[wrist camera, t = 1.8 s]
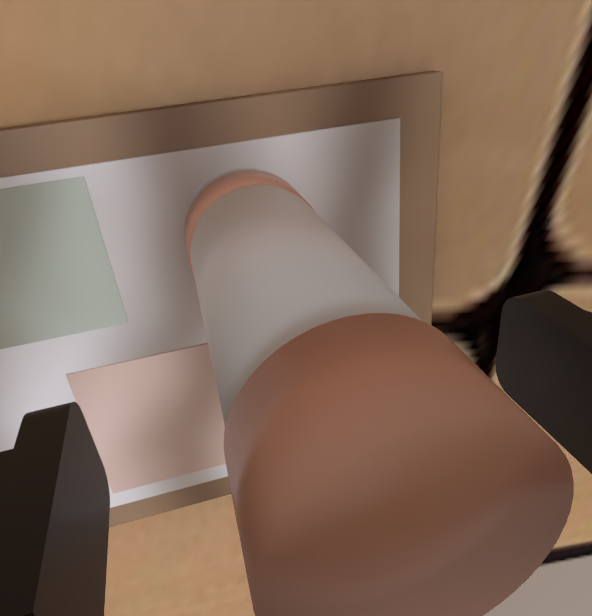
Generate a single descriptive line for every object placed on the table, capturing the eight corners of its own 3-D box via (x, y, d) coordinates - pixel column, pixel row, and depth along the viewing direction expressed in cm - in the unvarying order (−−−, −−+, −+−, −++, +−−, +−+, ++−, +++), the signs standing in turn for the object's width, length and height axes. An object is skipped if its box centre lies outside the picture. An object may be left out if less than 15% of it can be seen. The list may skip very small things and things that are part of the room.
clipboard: (433, 70, 17) (453, 73, 15) (420, 431, 24) (433, 450, 23) (-272, 164, 13) (-310, 176, 12) (-22, 551, 21) (-31, 580, 20)
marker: (301, 155, 16) (604, 379, 5) (312, 273, 18) (545, 602, 8) (169, 176, 15) (223, 483, 5) (196, 297, 17) (275, 699, 7)
